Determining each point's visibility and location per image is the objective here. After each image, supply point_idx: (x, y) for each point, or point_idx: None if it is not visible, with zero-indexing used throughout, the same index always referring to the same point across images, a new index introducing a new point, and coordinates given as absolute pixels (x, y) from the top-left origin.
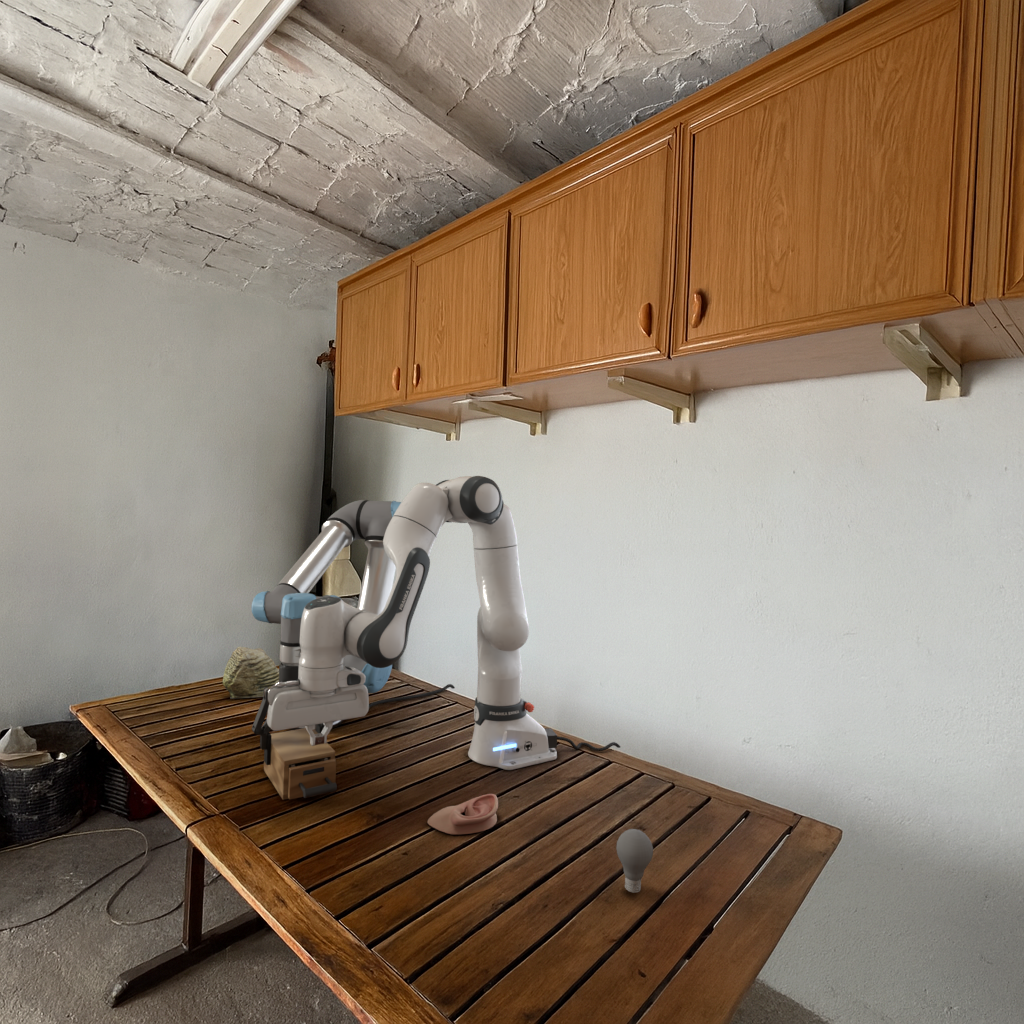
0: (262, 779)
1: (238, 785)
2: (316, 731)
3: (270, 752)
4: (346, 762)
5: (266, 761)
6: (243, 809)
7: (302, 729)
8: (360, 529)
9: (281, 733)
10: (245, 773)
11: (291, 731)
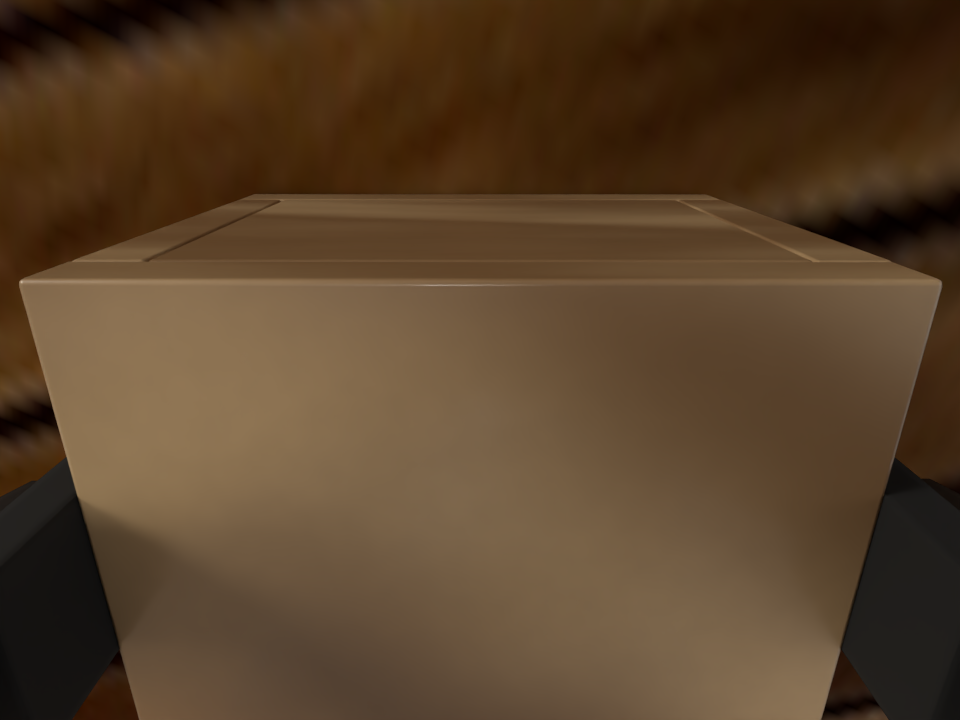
0: None
1: (39, 392)
2: (878, 517)
3: None
4: (947, 376)
5: None
6: (88, 703)
7: (724, 331)
8: None
9: (318, 353)
10: (88, 182)
11: (508, 344)
